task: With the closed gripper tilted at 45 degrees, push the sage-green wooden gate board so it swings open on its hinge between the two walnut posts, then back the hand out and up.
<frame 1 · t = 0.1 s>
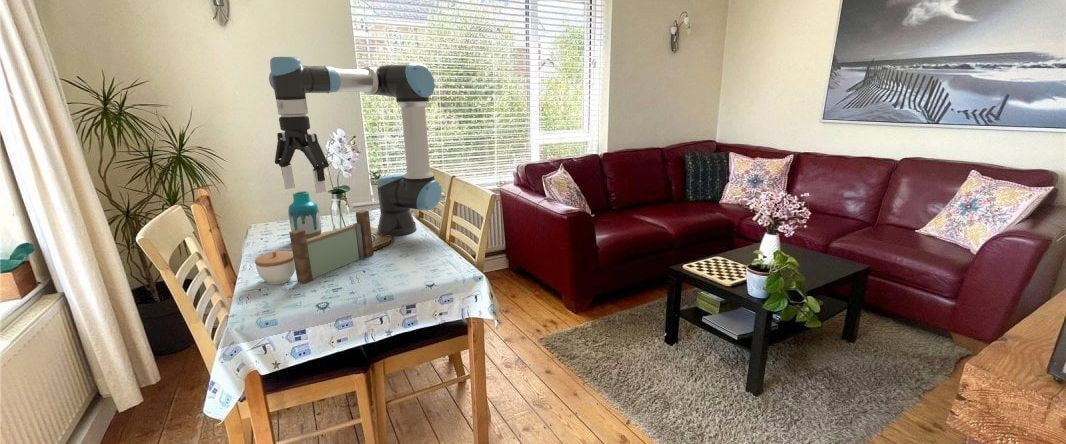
hand: (305, 190, 134), 28 cm above the table, tool pointing down, fingers open, 13 cm apart
gate posts: (338, 267, 151), on the table
gate: (336, 249, 150), point 6 cm above the table, hinge at 0.0°
lidded jar: (279, 281, 142), on the table
vase: (308, 241, 178), on the table
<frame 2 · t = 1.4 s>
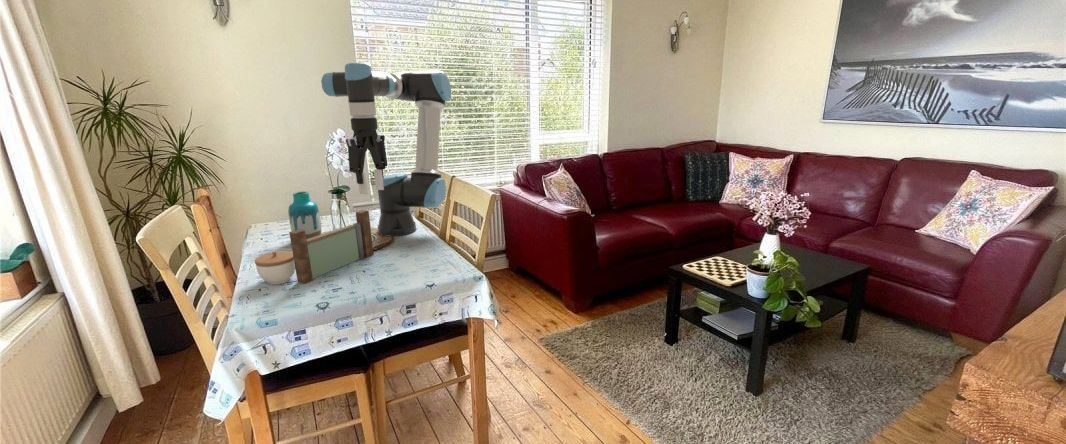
hand: (372, 191, 146), 25 cm above the table, tool pointing down, fingers open, 6 cm apart
nothing on the table moved.
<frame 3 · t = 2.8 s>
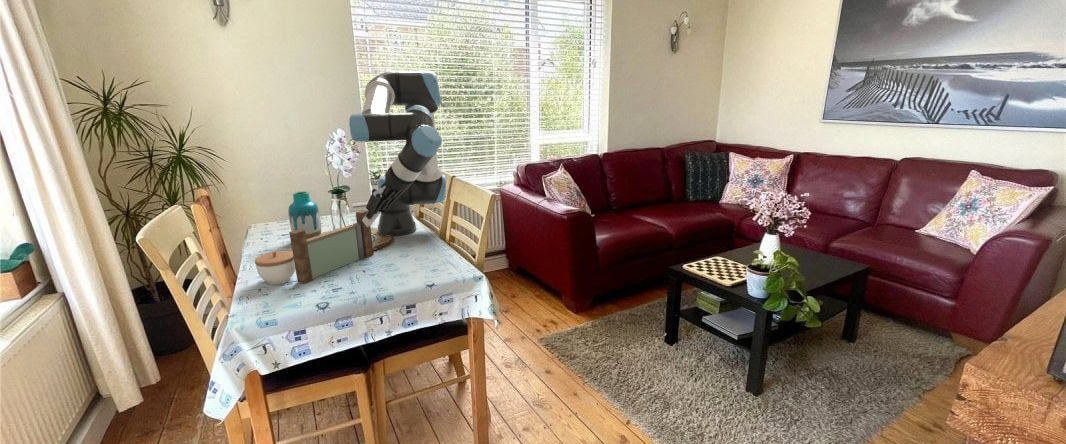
hand: (366, 222, 141), 17 cm above the table, tool tilted 45°, fingers closed
nothing on the table moved.
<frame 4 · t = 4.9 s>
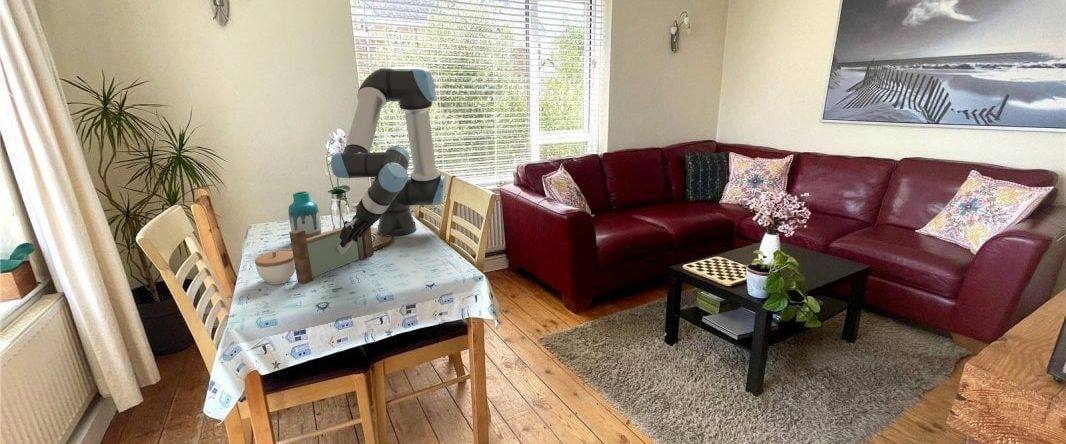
hand: (340, 250, 149), 6 cm above the table, tool tilted 45°, fingers closed
gate: (335, 249, 150), point 6 cm above the table, hinge at 2.3°, touching gripper
everything else where it was.
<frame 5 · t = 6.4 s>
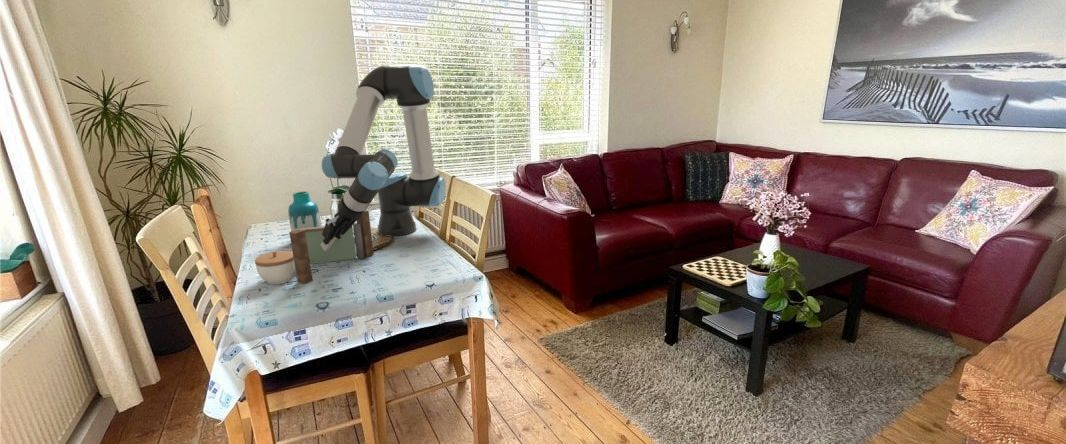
hand: (324, 247, 153), 6 cm above the table, tool tilted 45°, fingers closed
gate: (328, 243, 155), point 6 cm above the table, hinge at 45.2°, touching gripper
everything else where it was.
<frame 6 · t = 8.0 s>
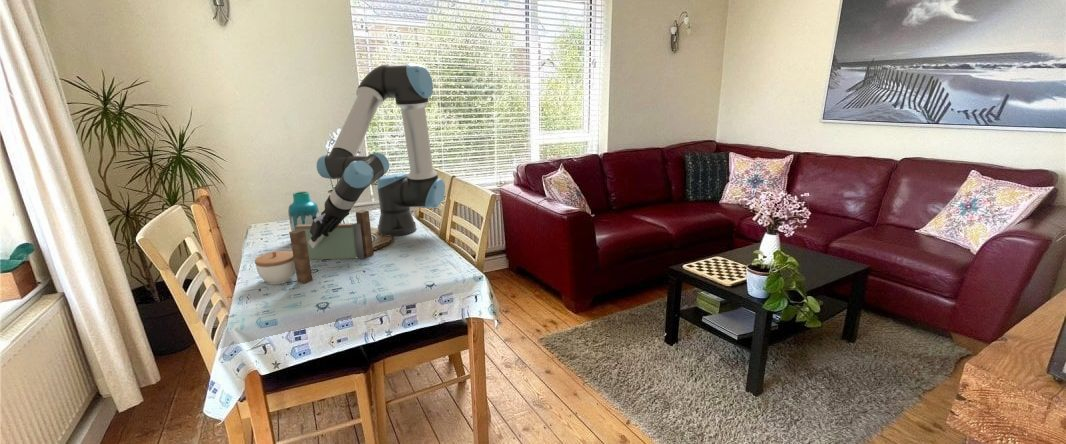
hand: (312, 244, 155), 6 cm above the table, tool tilted 45°, fingers closed
gate: (330, 241, 157), point 6 cm above the table, hinge at 60.3°, touching gripper
everything else where it was.
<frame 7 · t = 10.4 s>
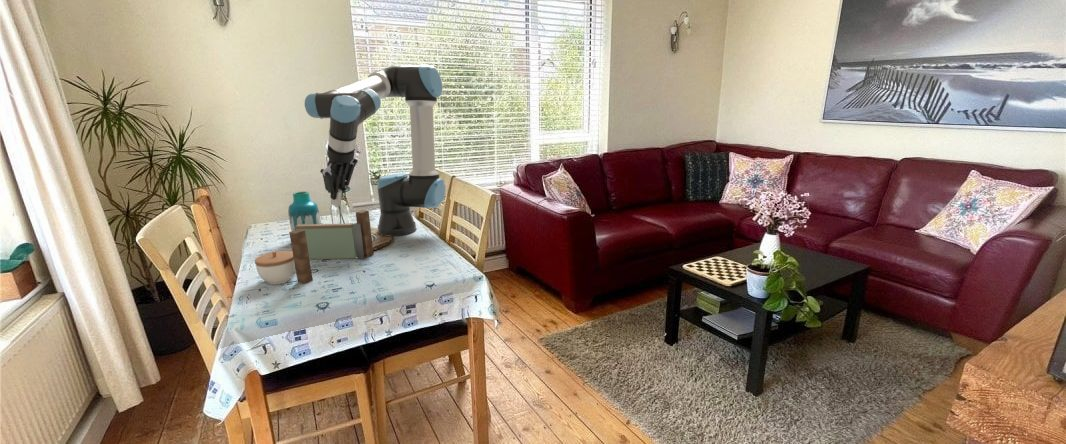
hand: (335, 204, 152), 20 cm above the table, tool tilted 30°, fingers closed
gate: (330, 241, 157), point 6 cm above the table, hinge at 60.7°
everything else where it was.
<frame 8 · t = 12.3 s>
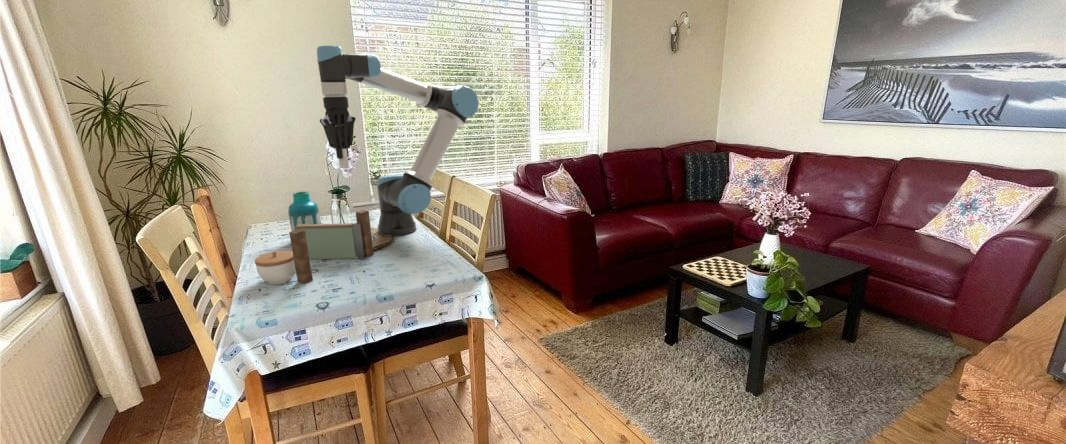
hand: (344, 167, 157), 30 cm above the table, tool pointing down, fingers closed
nothing on the table moved.
at the end: gate at +61° (first picture: +0°); lidded jar moved 0.2 cm from its start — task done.
